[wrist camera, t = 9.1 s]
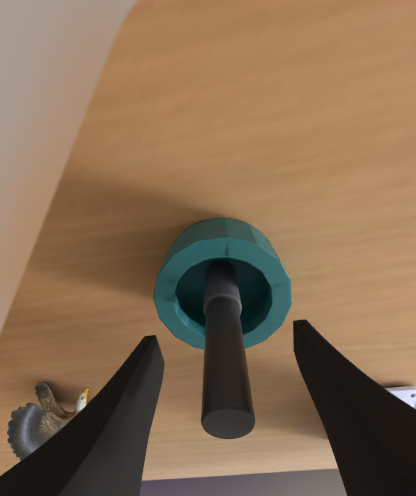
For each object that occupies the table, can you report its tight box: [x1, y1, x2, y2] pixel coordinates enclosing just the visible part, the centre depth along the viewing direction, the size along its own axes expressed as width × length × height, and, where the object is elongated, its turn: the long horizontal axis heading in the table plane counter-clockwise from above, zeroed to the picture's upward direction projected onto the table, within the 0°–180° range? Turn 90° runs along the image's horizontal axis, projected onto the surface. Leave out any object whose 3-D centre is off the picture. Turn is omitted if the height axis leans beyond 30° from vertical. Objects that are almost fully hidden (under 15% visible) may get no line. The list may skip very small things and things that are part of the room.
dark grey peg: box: [201, 261, 255, 439], centre depth 14 cm, size 2×2×11 cm
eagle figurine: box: [7, 383, 89, 461], centre depth 24 cm, size 8×7×9 cm
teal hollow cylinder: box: [154, 218, 292, 349], centre depth 17 cm, size 9×9×4 cm
